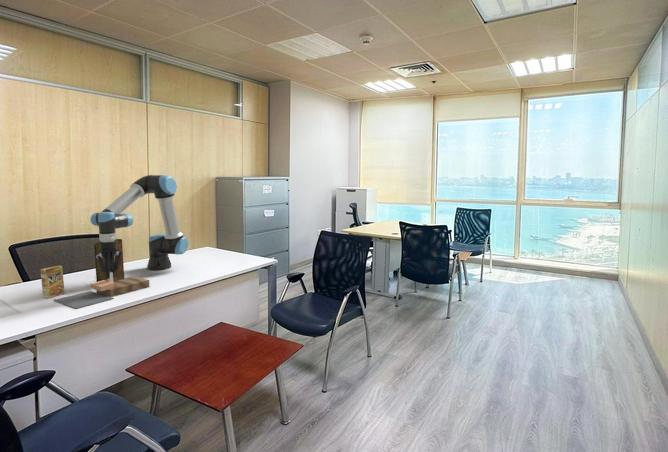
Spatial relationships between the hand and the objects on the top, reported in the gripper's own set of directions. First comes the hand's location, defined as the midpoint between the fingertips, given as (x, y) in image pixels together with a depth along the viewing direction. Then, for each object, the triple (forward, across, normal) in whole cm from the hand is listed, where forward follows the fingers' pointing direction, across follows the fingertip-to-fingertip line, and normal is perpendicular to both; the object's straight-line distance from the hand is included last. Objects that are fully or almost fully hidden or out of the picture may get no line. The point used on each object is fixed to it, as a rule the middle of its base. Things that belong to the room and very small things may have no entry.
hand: (110, 283), depth 211 cm
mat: (+5, -14, 0) cm, 15 cm away
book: (+5, +11, +19) cm, 23 cm away
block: (+1, -4, 0) cm, 4 cm away
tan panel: (+5, +7, 0) cm, 9 cm away
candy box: (+5, -19, +20) cm, 28 cm away
